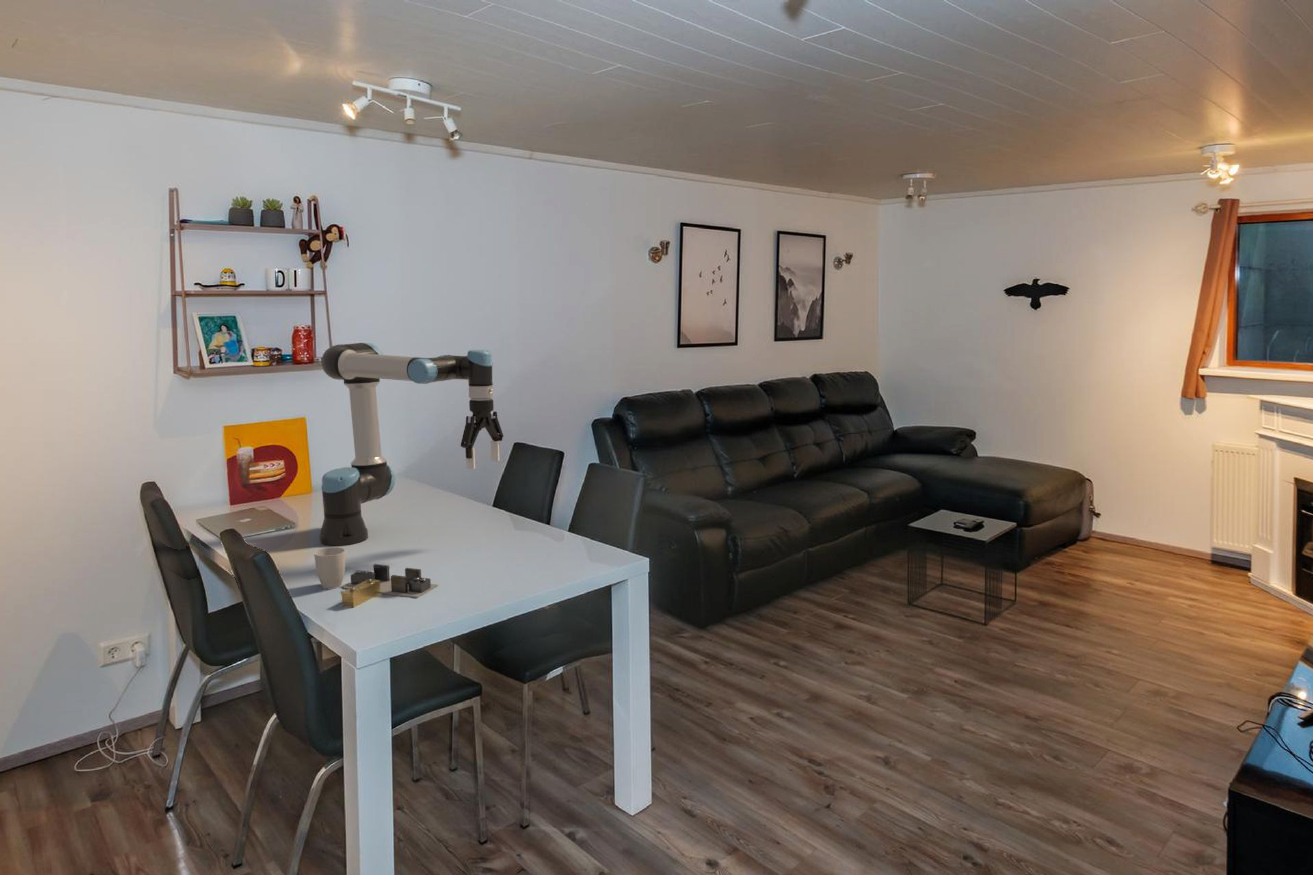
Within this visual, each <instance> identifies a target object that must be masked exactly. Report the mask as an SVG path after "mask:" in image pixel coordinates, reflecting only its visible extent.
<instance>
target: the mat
mask: <svg viewBox="0 0 1313 875" xmlns="http://www.w3.org/2000/svg"><path fill="white" fill-rule="evenodd" d="M407 585H408V592H407V593H400V592H392V589H391V578H390V581H388V582H387V581H380V591H381V594H382V595H383V594H384V595H391V596H396V597H397V596H399V597H407V598H416V599H418V598H421V597H422V596H423V595H426V594H427V593H428V592H431V591H432V590H434V589H435V588H437V587H439V584H437V583H436V584H435V583H431V588H429V589H428V590H426V591H424V592H422V593H418V592H410V591H409V584H407ZM353 586H356V585H355V584H351V582H350V583H348V584H347V585H344V586H343V587H342V589H343V590H347V589H349V588H351V587H353Z"/></svg>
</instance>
